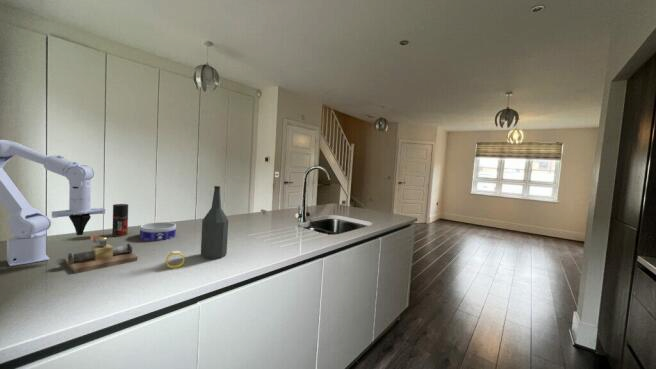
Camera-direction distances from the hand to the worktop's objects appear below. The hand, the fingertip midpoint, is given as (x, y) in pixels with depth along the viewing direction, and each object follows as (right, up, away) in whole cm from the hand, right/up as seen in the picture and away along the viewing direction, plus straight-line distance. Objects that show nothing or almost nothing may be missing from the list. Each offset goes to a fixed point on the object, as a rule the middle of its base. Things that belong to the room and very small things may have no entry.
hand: (79, 234), depth 101 cm
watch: (+35, -13, +1) cm, 37 cm away
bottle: (+43, -12, +16) cm, 47 cm away
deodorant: (-10, -7, +33) cm, 36 cm away
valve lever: (+5, -4, +3) cm, 7 cm away
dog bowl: (+7, -8, +36) cm, 37 cm away
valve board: (+8, -10, +1) cm, 13 cm away
